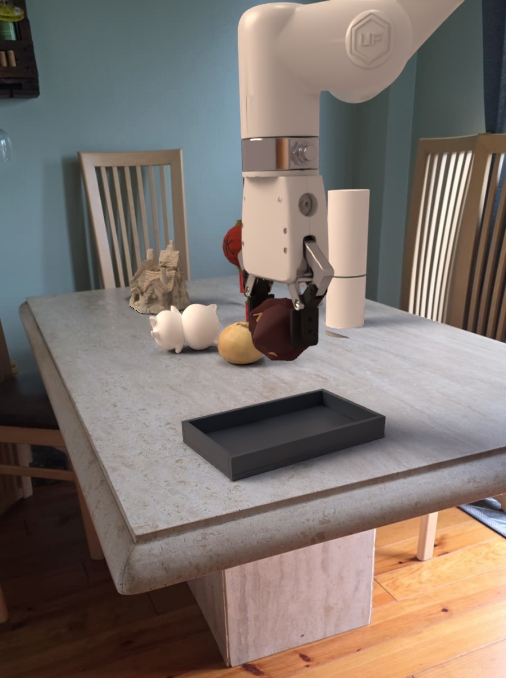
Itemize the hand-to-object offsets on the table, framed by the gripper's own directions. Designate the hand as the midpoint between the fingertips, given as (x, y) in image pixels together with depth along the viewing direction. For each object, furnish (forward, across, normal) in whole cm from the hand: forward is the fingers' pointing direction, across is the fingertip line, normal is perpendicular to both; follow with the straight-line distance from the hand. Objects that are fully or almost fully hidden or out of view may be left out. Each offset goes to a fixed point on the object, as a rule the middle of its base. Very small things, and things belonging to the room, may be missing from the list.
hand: (282, 337), depth 68 cm
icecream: (+3, 0, 0) cm, 3 cm away
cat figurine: (+12, +44, -8) cm, 46 cm away
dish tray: (+12, 0, 0) cm, 12 cm away
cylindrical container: (+12, +36, -37) cm, 53 cm away
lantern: (+12, +55, -27) cm, 62 cm away
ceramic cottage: (+12, +83, -18) cm, 86 cm away
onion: (+12, +31, -12) cm, 35 cm away
